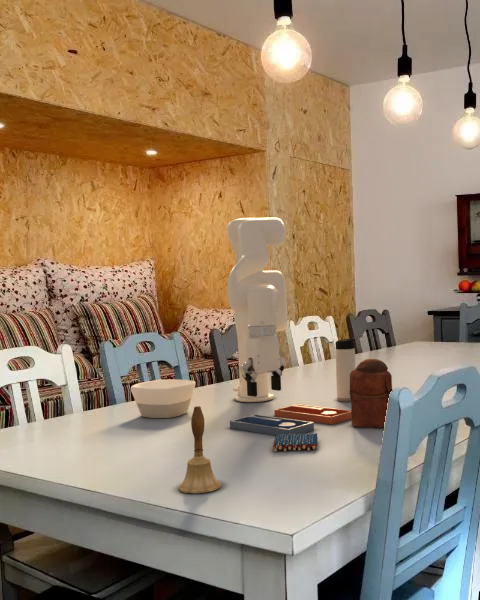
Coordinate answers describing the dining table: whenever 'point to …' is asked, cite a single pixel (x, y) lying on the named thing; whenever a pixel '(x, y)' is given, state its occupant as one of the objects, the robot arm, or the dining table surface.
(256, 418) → the slate spoon
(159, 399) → the bowl
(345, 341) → the travel mug
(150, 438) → the dining table surface
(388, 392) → the wooden figurine
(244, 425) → the slate tray
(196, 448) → the hand bell
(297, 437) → the woven mat
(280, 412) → the terracotta tray
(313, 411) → the terracotta spoon
